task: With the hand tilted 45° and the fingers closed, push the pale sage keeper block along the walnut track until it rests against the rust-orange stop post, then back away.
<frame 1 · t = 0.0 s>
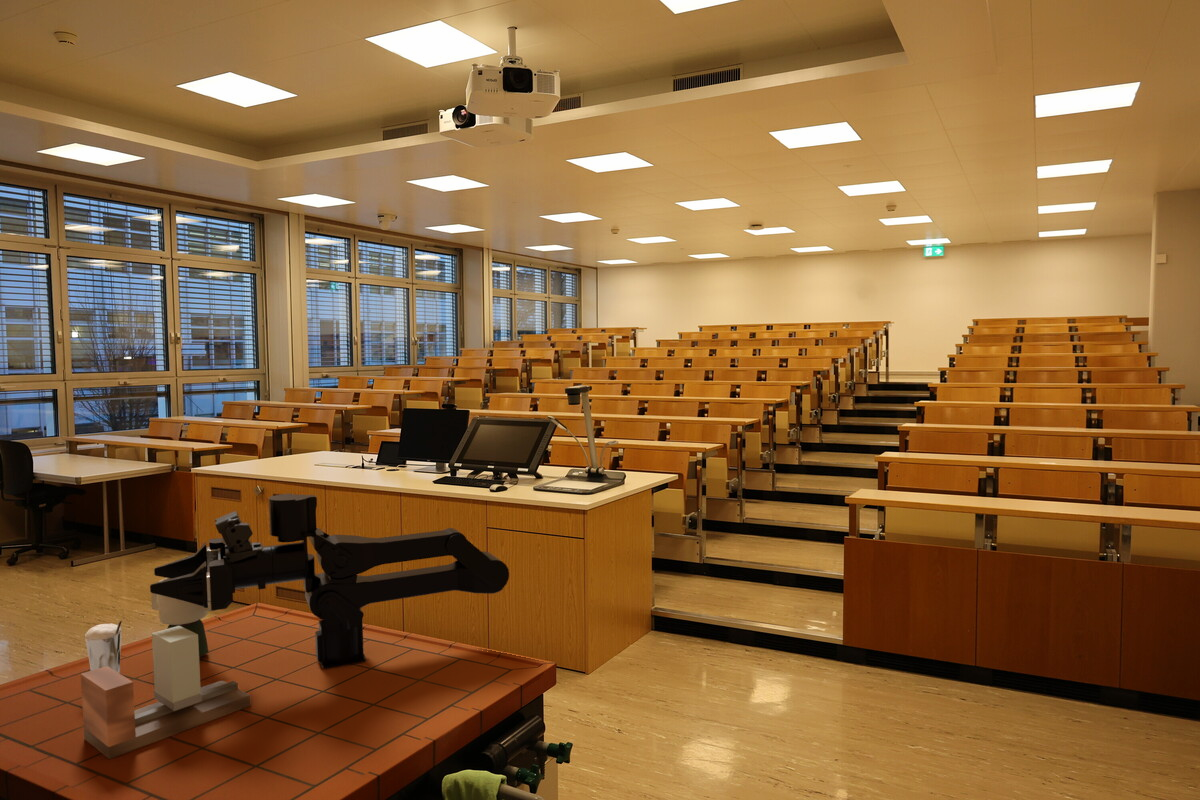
hand: (152, 579, 110), 17 cm above the table, tool horizontal, fingers open, 9 cm apart
keeper: (176, 666, 103), point 7 cm above the table, slide at 0.0 cm
character mug: (186, 660, 123), on the table
milkshake: (108, 687, 113), on the table
track: (229, 700, 108), on the table
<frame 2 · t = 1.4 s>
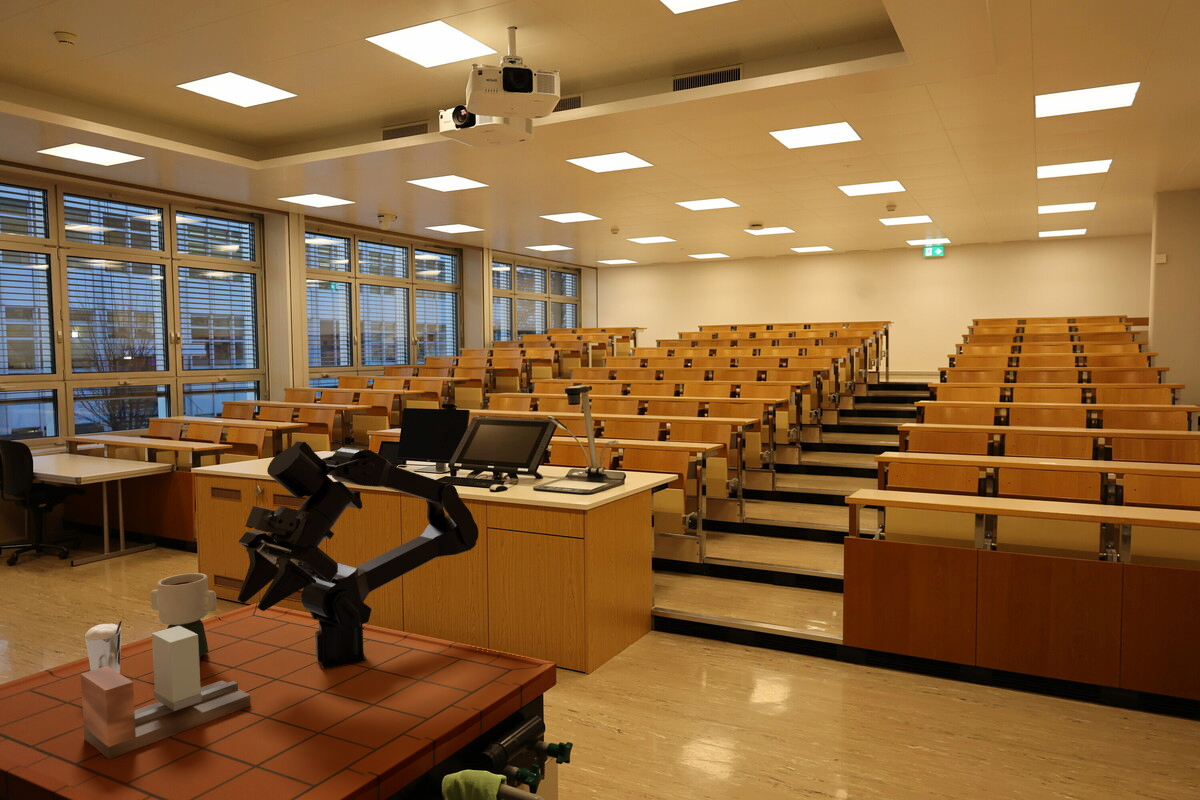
hand: (250, 605, 110), 13 cm above the table, tool tilted 45°, fingers open, 5 cm apart
nothing on the table moved.
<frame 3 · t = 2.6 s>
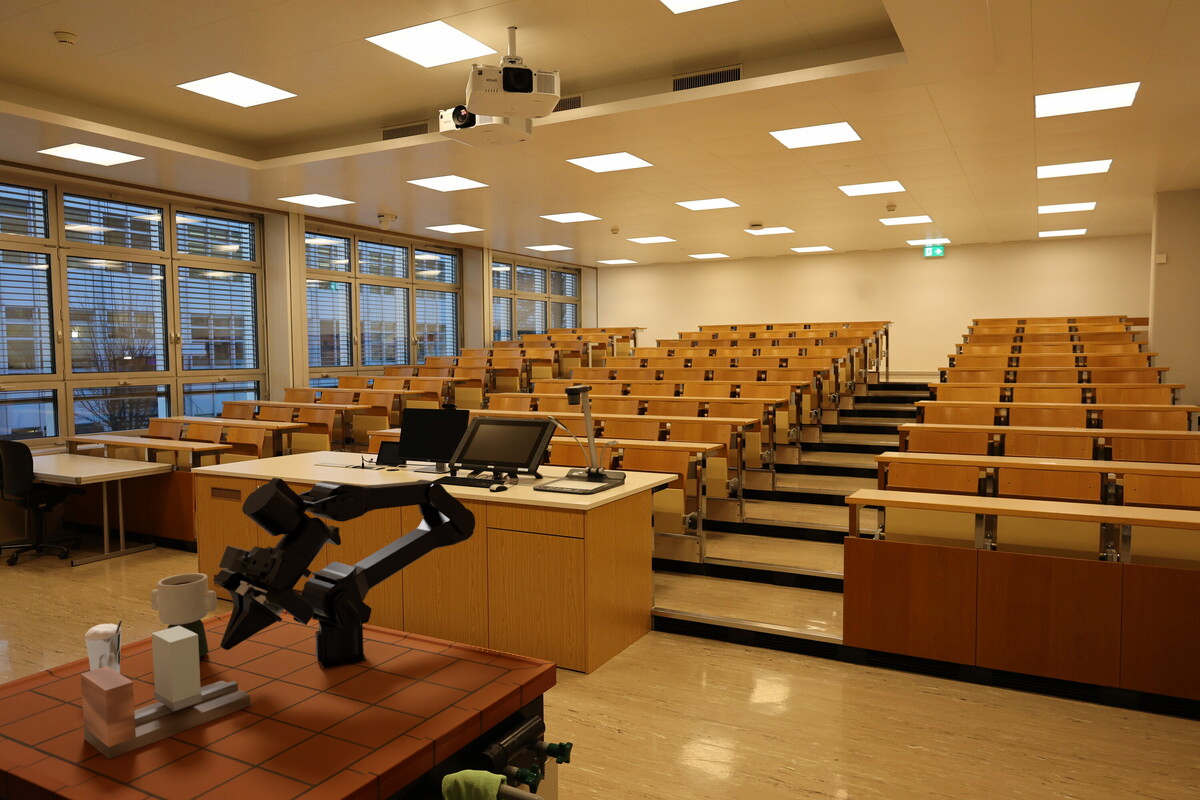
hand: (223, 648, 108), 8 cm above the table, tool tilted 45°, fingers closed
nothing on the table moved.
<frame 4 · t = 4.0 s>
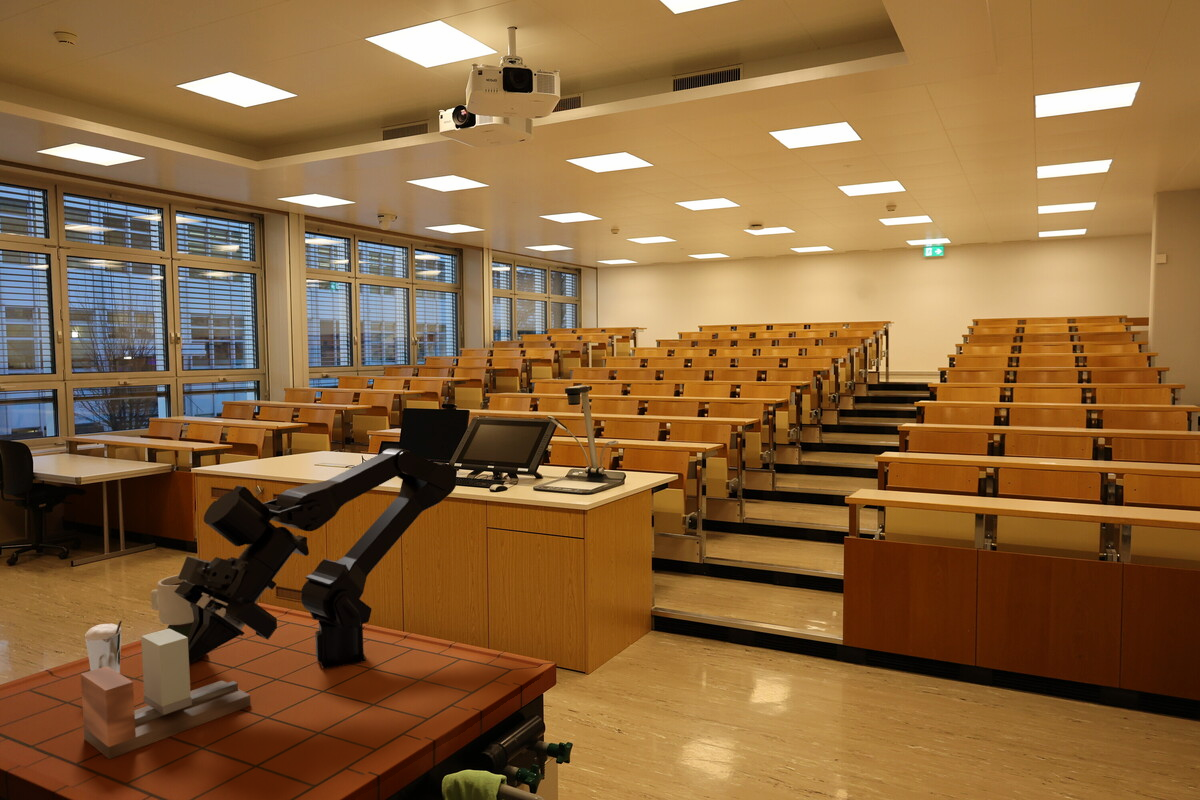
hand: (182, 663, 103), 7 cm above the table, tool tilted 45°, fingers closed, pressing on keeper
keeper: (166, 670, 102), point 7 cm above the table, slide at 1.3 cm, touching gripper
everything else where it was.
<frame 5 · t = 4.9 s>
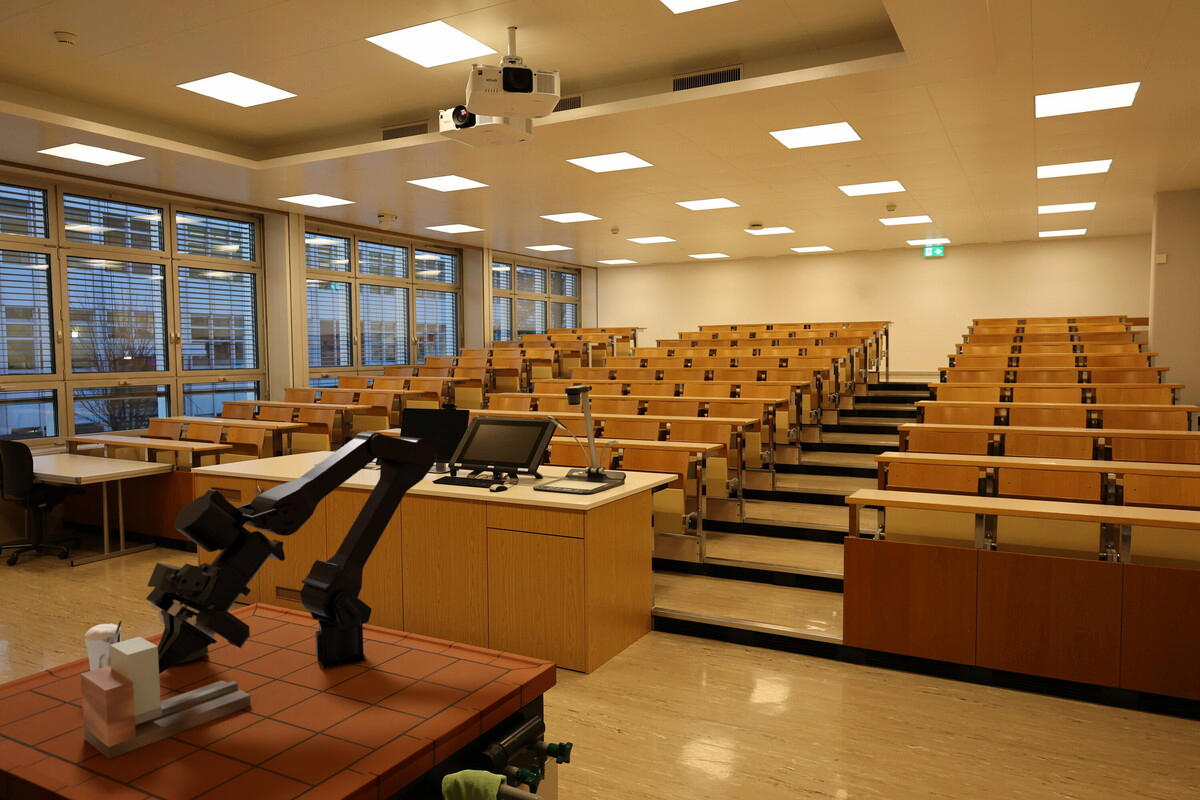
hand: (152, 673, 100), 7 cm above the table, tool tilted 45°, fingers closed, pressing on keeper
keeper: (135, 679, 99), point 7 cm above the table, slide at 5.0 cm, touching gripper, track
everything else where it was.
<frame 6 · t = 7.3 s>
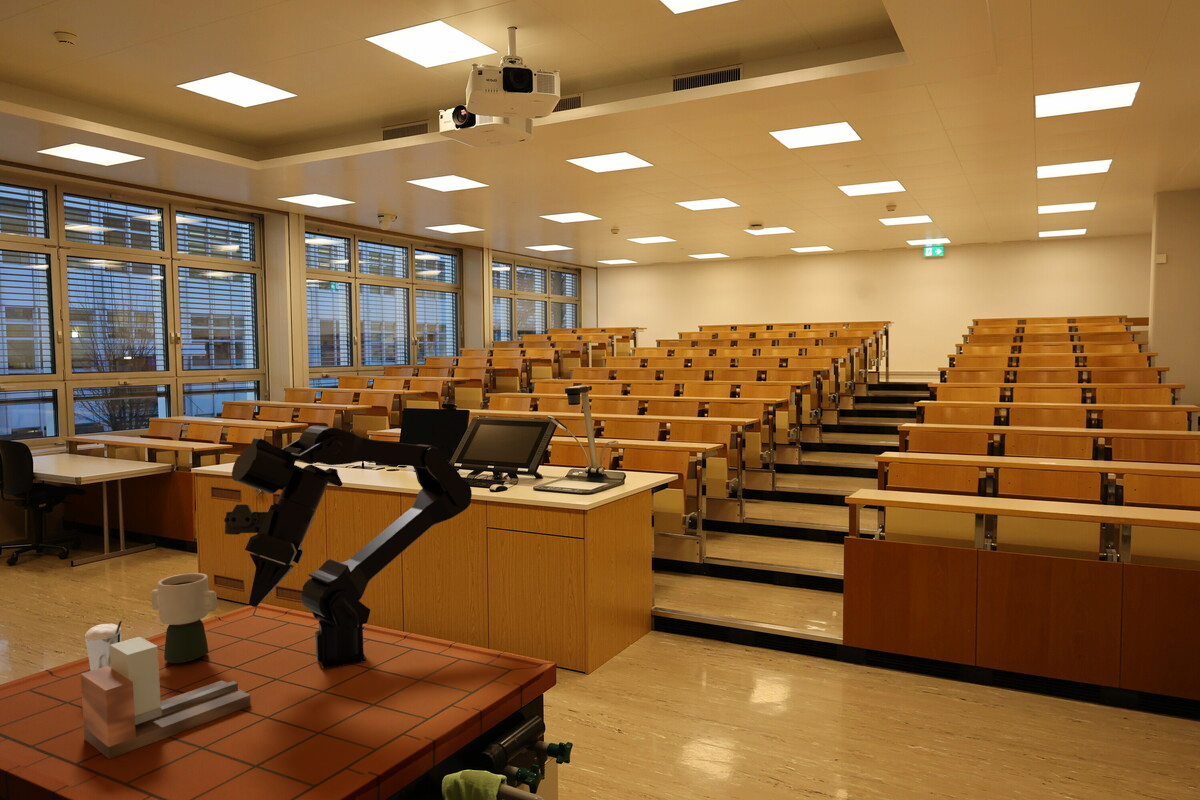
hand: (252, 606, 112), 12 cm above the table, tool tilted 30°, fingers closed
keeper: (135, 679, 99), point 7 cm above the table, slide at 5.0 cm, touching track
everything else where it was.
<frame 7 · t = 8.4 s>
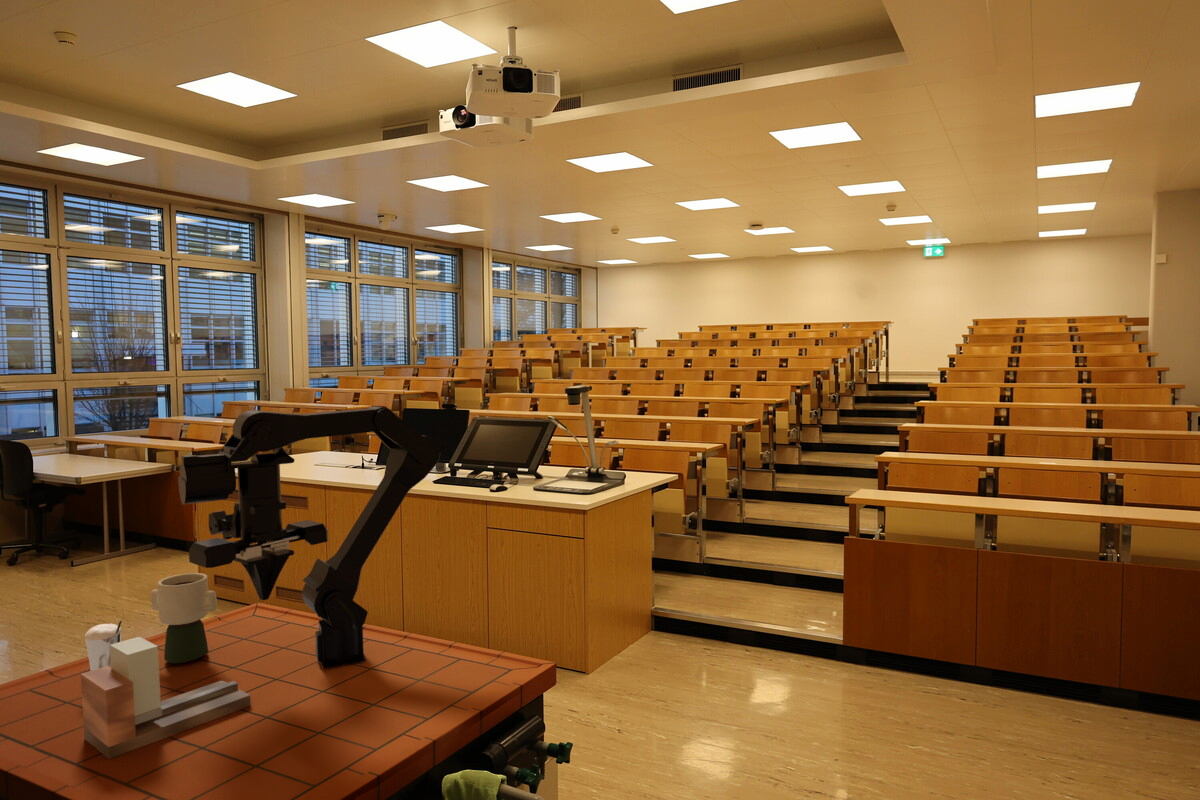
hand: (264, 599, 115), 12 cm above the table, tool pointing down, fingers closed
nothing on the table moved.
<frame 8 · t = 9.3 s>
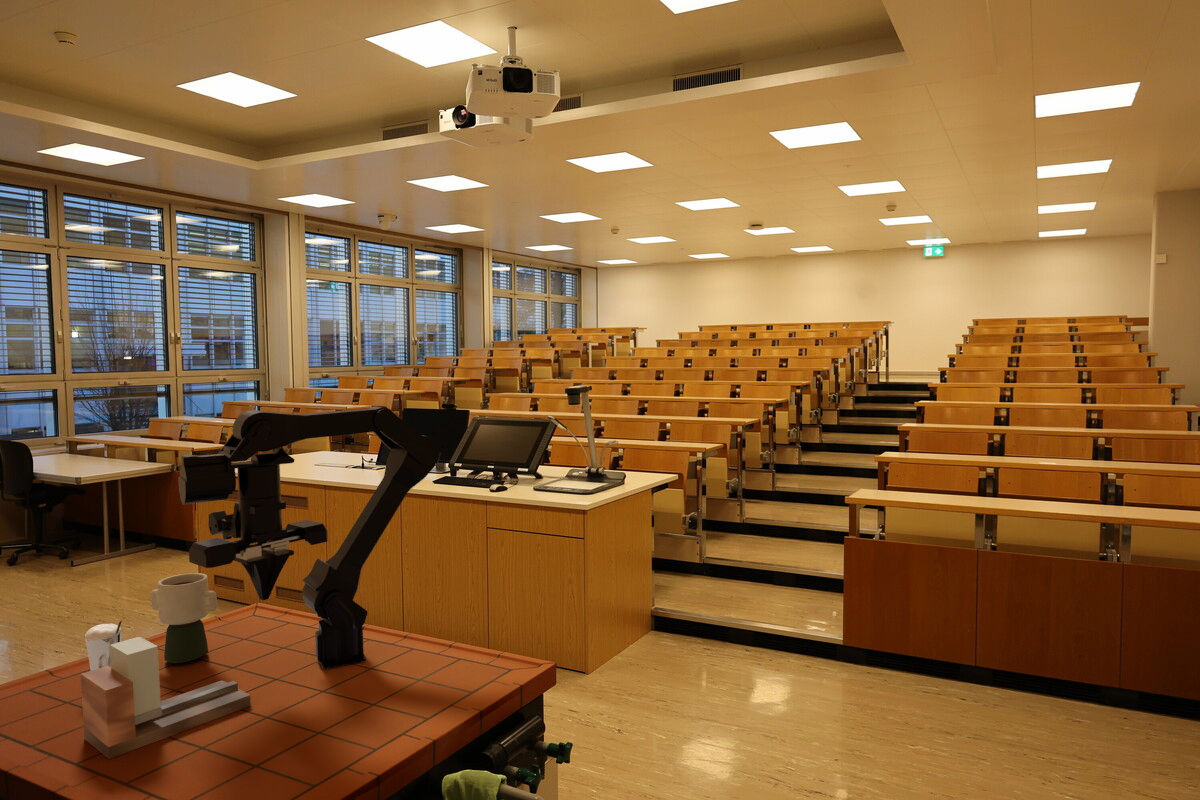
hand: (264, 599, 115), 12 cm above the table, tool pointing down, fingers closed
nothing on the table moved.
at the end: keeper slide at 5.0 cm; character mug moved 0.2 cm from its start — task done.
